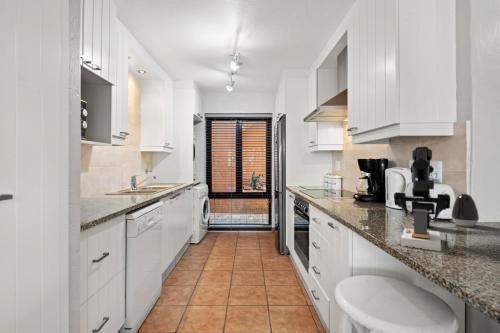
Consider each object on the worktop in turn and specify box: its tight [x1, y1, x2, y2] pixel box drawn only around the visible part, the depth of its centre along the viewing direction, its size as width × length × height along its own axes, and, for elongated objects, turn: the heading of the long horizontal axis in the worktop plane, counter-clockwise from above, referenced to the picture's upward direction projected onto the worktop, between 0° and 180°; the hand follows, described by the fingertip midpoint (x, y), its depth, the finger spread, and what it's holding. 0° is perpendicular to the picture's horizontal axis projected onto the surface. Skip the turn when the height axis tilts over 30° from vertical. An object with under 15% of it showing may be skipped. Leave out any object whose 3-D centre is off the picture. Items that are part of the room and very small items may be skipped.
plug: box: [412, 209, 429, 239], centre depth 101 cm, size 5×5×13 cm
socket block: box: [400, 227, 442, 252], centre depth 104 cm, size 17×12×4 cm
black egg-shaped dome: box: [451, 193, 480, 228], centre depth 129 cm, size 10×10×15 cm
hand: (420, 217), depth 103 cm, fingers open, 9 cm apart
